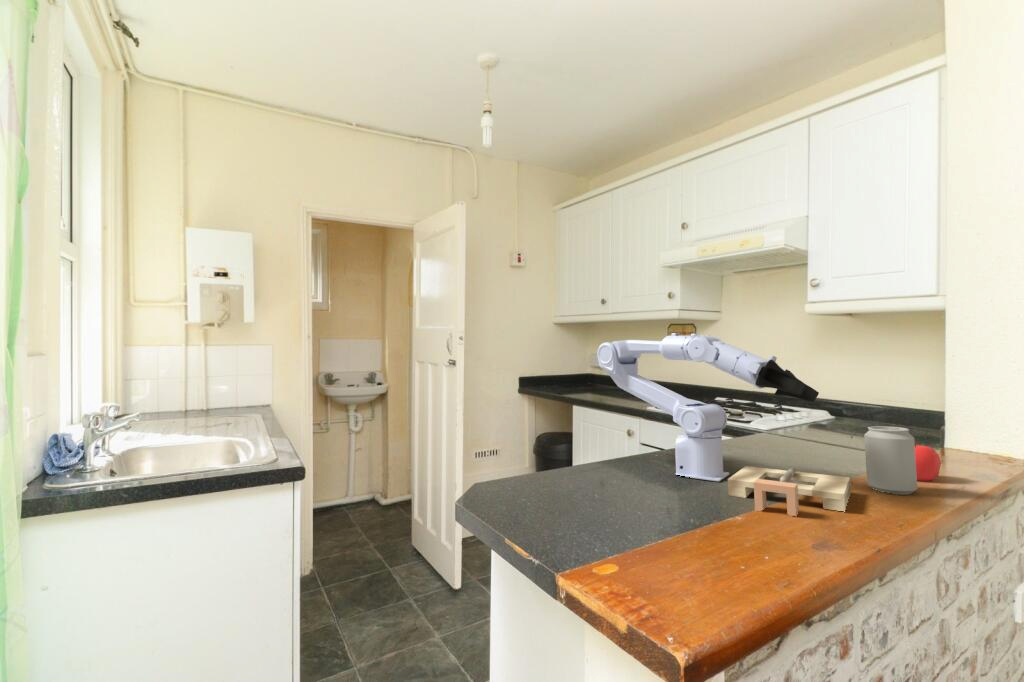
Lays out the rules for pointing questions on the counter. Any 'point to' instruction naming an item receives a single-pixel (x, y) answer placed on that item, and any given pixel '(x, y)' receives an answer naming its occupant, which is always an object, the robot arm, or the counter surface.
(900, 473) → the can
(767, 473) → the wooden slotted stand
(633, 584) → the counter surface
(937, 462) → the apple
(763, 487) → the pink arch
